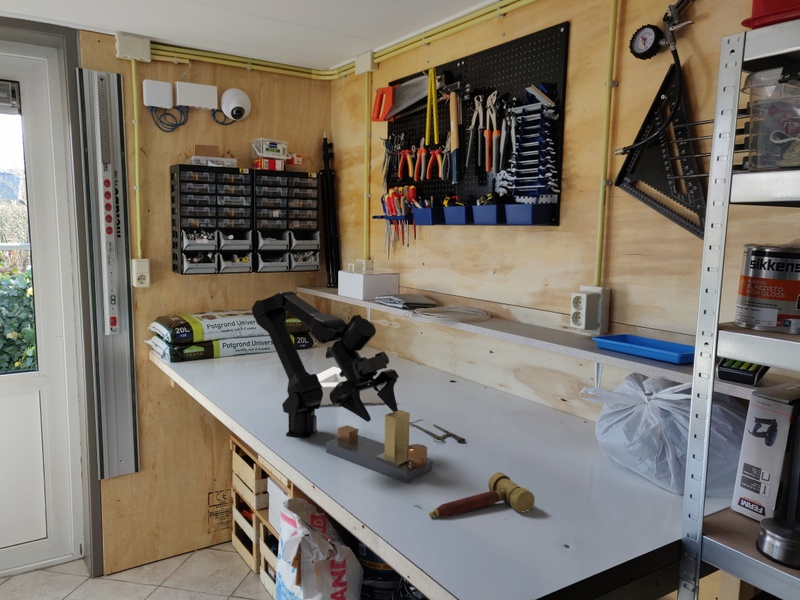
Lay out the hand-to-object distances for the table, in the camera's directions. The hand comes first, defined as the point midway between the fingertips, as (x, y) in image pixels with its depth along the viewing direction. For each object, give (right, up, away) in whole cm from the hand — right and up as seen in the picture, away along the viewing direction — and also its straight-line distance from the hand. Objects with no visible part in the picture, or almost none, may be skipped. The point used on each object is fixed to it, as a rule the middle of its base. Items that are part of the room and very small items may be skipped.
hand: (383, 416), depth 139 cm
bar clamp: (+11, -9, +24) cm, 28 cm away
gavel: (+19, -15, -20) cm, 31 cm away
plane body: (-1, -11, +3) cm, 12 cm away
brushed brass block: (+3, -9, -2) cm, 9 cm away
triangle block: (-12, -5, +53) cm, 55 cm away
